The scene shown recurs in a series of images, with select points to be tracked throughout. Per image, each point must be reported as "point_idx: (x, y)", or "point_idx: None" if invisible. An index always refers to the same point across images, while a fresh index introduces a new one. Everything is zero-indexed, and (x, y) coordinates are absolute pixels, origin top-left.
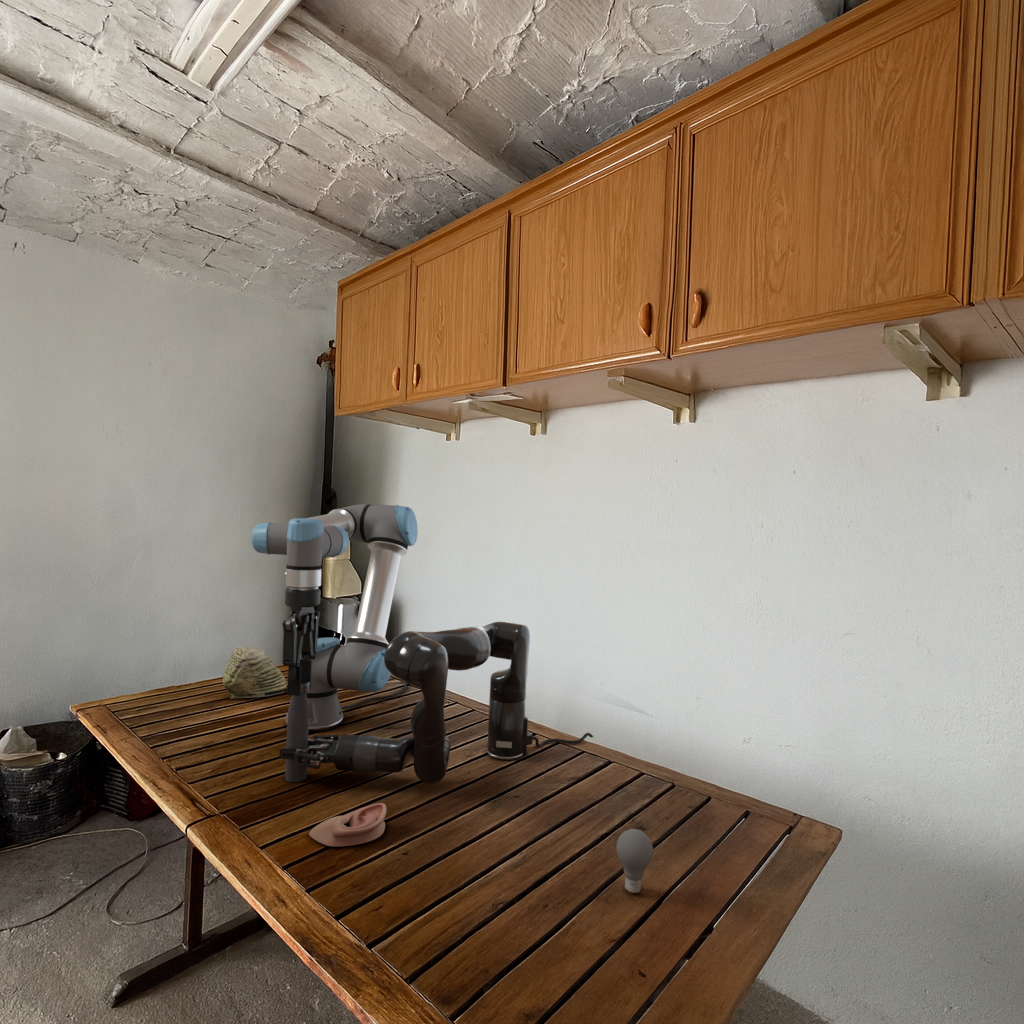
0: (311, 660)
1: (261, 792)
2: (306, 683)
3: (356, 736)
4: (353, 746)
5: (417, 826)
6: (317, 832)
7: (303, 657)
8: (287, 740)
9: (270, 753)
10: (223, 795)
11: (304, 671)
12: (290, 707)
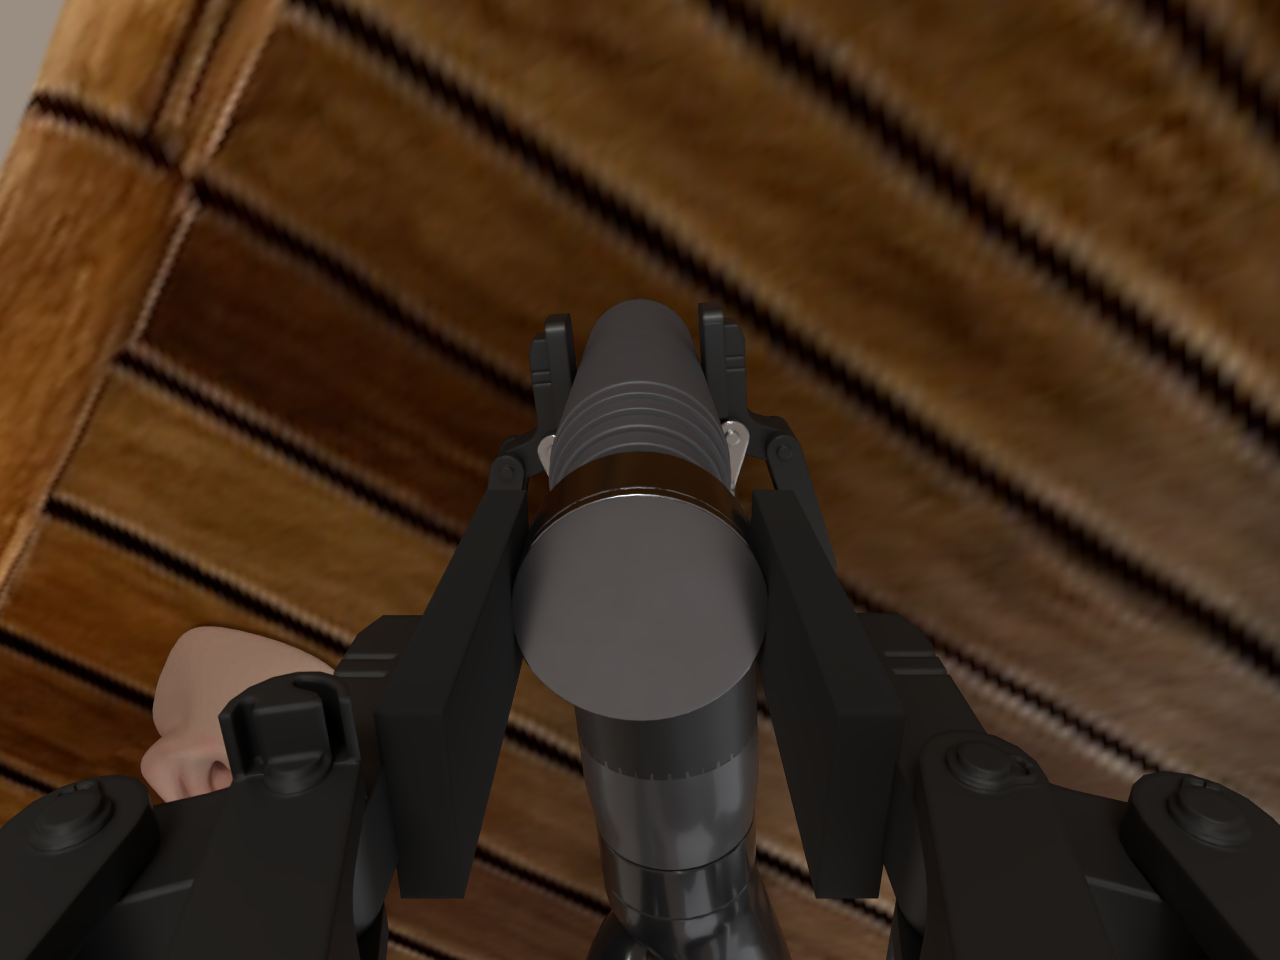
0: (864, 893)
1: (445, 263)
2: (594, 713)
3: (665, 768)
4: (596, 754)
5: (394, 900)
6: (179, 670)
7: (911, 793)
8: (585, 362)
9: (933, 32)
10: (351, 79)
11: (784, 681)
12: (564, 449)
